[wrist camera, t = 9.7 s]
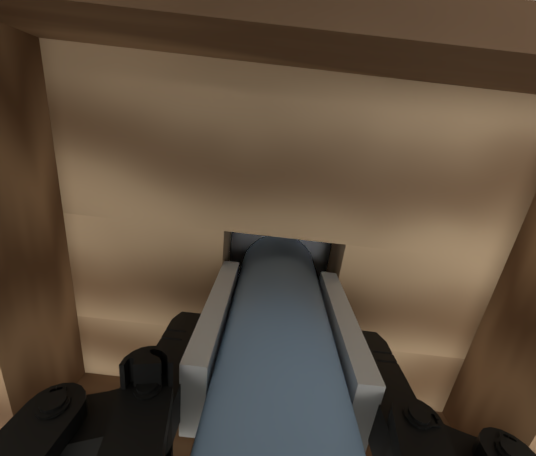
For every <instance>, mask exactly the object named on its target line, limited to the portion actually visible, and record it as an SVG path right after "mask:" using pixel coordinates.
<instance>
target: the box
mask: <svg viewBox="0 0 536 456" xmlns="http://www.w3.org/2000/svg"><path fill="white" fill-rule="evenodd" d="M232 232H237V233H246V234H255V235H264V236H272V237H281V238H290V239H299V240H308V241H317V242H326V243H332V245H331V250H330V255H329V260H328V265H327V270H326V272H330V273H336V274H337V276H338V279H339V281H340V283H341V285H342V287H343V290H344V292H345V294H346V296H347V299H348V301H349V303H350V306H351V308H352V310H353V312H354V315H355V317H356V319H357V322H358V324H359V326H360V328H361V330H362V331H371V332H377V333H378V334H379V335H380V336H381V337H382V338H383V339H384V340H385V341H386V342H387V344H388V346H389V348H390V349H391V351H392V355H394V357H395V359H396V361H397V364H399V366H400V368H401V370H402V372H403V374H404V375H405V377H406V379H407V381H408V383H409V385H410V387H411V389H412V390H413V392H414V394H415V396H416V398H417V399H419V400H421V401H423V402H424V403H426V404H427V405H429V406H430V407H431V408H432V409H433V410H434V411H435V412H436V413H437V414H438V415H439V416H440V418H441V420H442V421H443V423H444V424H445V425H447V426H449V427H452V428H454V429H457V430H459V431H462V432H464V433H467V434H470V435H472V436H475V437H478V435H479V433H480V431H481V430H482V429H483V428H487V427H493V428H497V429H501V430H503V431H506V432H508V433H510V434H512V435H514V436H515V437H516V438H518V439H519V440H521V441H522V442H523V443H525V444H526V445H527V446H528V447H529V448H530V449H531V450H532V451H533V452H534V453H535V454H536V1H534V0H0V429H1V428H2V427H3V426H4V425H5V424H6V423H7V422H8V421H9V420H10V419H11V418H12V417H13V416H14V415H15V414H16V413H17V412H18V411H19V410H20V409H21V408H22V407H23V406H24V405H25V404H26V403H27V402H28V401H29V400H30V399H31V398H33V397H34V396H35V395H36V394H38V393H39V392H41V391H43V390H45V389H47V388H49V387H50V386H54V385H57V384H61V383H76V384H79V385H82V387H83V388H84V389H85V391H86V395H88V394H94V393H100V392H106V391H111V390H114V389H118V388H120V375H119V364H120V363H121V361H122V360H123V358H124V357H125V356H127V355H128V354H129V353H131V352H132V351H134V350H137V349H139V348H141V347H146V346H156V345H157V344H158V342H159V340H160V339H161V337H162V335H163V333H164V332H165V331H166V328H167V326H168V325H169V323H170V321H171V320H172V319H173V318H174V317H175V316H176V315H178V314H179V313H180V312H191V313H200V314H201V313H202V311H203V308H204V306H205V304H206V301H207V299H208V297H209V294H210V292H211V290H212V287H213V285H214V283H215V280H216V278H217V276H218V274H219V271H220V269H221V267H222V265H223V263H224V261H230V248H231V233H232ZM194 439H195V438H190V437H181V436H179V426H178V429H177V432H176V435H175V438H174V441H173V456H190V454H191V450H192V447H193V443H194ZM365 454H366V456H372V453H371V449H370V446H369V443H368V446H367V450H366V453H365Z"/></svg>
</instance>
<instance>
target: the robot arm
mask: <svg viewBox="0 0 536 456" xmlns="http://www.w3.org/2000/svg"><path fill="white" fill-rule="evenodd" d="M238 272H239V262H231V261H224V263H223V265H222V267H221V269H220V271H219V274H218V276H217V278H216V280H215V283H214V285H213V287H212V290H211V292H210V294H209V297H208V299H207V301H206V304H205V306H204V308H203V311H202V313H201V314H200V313H191V312H180V313H179V314H178V315H176V316H175V317H174V318H173V319H172V320H171V321H170V323H169V325H168V326H167V328H166V331H165V332H164V333H163V335H162V337H161V339H160V340H159V342H158V344H157V345H156V346H146V347H141V348H139V349H137V350H134V351H132V352H131V353H129V354H128V355H127V356H125V357H124V358H123V360H122V361H121V363H120V364H119V375H120V388H118V389H114V390H111V391H106V392H100V393H94V394H88V395H86V391H85V389H84V388H83V387H82V385H79V384H76V383H61V384H57V385H54V386H50V387H49V388H47V389H45V390H43V391H41V392H39V393H38V394H36V395H35V396H34V397H33V398H31V399H30V400H29V401H28V402H27V403H26V404H25V405H24V406H23V407H22V408H21V409H20V410H19V411H18V412H17V413H16V414H15V415H14V416H13V417H12V418H11V419H10V420H9V421H8V422H7V423H6V424H5V425H4V426H3V427H2V428H1V429H0V456H173V441H174V438H175V435H176V432H177V429H178V426H179V436H181V437H190V438H195V436H196V432H197V428H198V425H199V421H200V417H201V413H202V410H203V406H204V402H205V399H206V395H207V391H208V388H209V384H210V380H211V377H212V373H213V369H214V366H215V362H216V358H217V355H218V351H219V347H220V344H221V340H222V336H223V333H224V329H225V325H226V322H227V318H228V314H229V311H230V307H231V303H232V300H233V296H234V292H235V289H236V285H237V281H238ZM319 286H320V290H321V293H322V297H323V301H324V304H325V308H326V311H327V315H328V319H329V322H330V326H331V330H332V333H333V337H334V341H335V344H336V348H337V352H338V355H339V359H340V362H341V366H342V370H343V373H344V377H345V381H346V384H347V388H348V392H349V395H350V399H351V403H352V406H353V410H354V413H355V417H356V421H357V424H358V428H359V432H360V435H361V439H362V443H363V446H364V450H365V453H366V450H367V446H368V443H369V446H370V449H371V453H372V456H536V454H535V453H534V452H533V451H532V450H531V449H530V448H529V447H528V446H527V445H526V444H525V443H523V442H522V441H521V440H519V439H518V438H516V437H515V436H514V435H512V434H510V433H508V432H506V431H503V430H501V429H497V428H493V427H487V428H483V429H482V430H481V431H480V433H479V435H478V437H475V436H472V435H470V434H467V433H464V432H462V431H459V430H457V429H454V428H452V427H449V426H447V425H445V424H444V423H443V421H442V420H441V418H440V416H439V415H438V414H437V413H436V412H435V411H434V410H433V409H432V408H431V407H430V406H429V405H427V404H426V403H424V402H423V401H421V400H419V399H417V398H416V396H415V394H414V392H413V390H412V389H411V387H410V385H409V383H408V381H407V379H406V377H405V375H404V374H403V372H402V370H401V368H400V366H399V364H397V361H396V359H395V357H394V355H392V351H391V349H390V348H389V346H388V344H387V342H386V341H385V340H384V339H383V338H382V337H381V336H380V335H379V334H378V333H377V332H371V331H362V330H361V328H360V326H359V324H358V322H357V319H356V317H355V315H354V312H353V310H352V308H351V306H350V303H349V301H348V299H347V296H346V294H345V292H344V290H343V287H342V285H341V283H340V281H339V279H338V276H337V274H336V273H330V272H321V275H320V280H319Z"/></svg>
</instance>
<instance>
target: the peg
mask: <svg viewBox="0 0 536 456" xmlns="http://www.w3.org/2000/svg"><path fill="white" fill-rule="evenodd" d="M190 456H366V454H365V450H364V446H363V443H362V439H361V435H360V432H359V428H358V424H357V421H356V417H355V413H354V410H353V406H352V403H351V399H350V395H349V392H348V388H347V384H346V381H345V377H344V373H343V370H342V366H341V362H340V359H339V355H338V352H337V348H336V344H335V341H334V337H333V333H332V330H331V326H330V322H329V319H328V315H327V311H326V308H325V304H324V301H323V297H322V293H321V290H320V286H319V282H318V279H317V275H316V271H315V268H314V264H313V260H312V257H311V255H310V253H309V251H308V250H307V248H306V247H305V246H304V245H303V244H302V243H301V242H299V241H298V240H296V239H290V238H281V237H272V236H267V237H264V238H261V239H259V240H258V241H256V242H255V243H254V244H252V245H251V246H250V248H249V249H248V250H247V252H246V254H245V256H244V259H243V263H242V267H241V270H240V274H239V278H238V281H237V285H236V289H235V292H234V296H233V300H232V303H231V307H230V311H229V314H228V318H227V322H226V325H225V329H224V333H223V336H222V340H221V344H220V347H219V351H218V355H217V358H216V362H215V366H214V369H213V373H212V377H211V380H210V384H209V388H208V391H207V395H206V399H205V402H204V406H203V410H202V413H201V417H200V421H199V425H198V428H197V432H196V436H195V439H194V443H193V447H192V450H191V454H190Z"/></svg>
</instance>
